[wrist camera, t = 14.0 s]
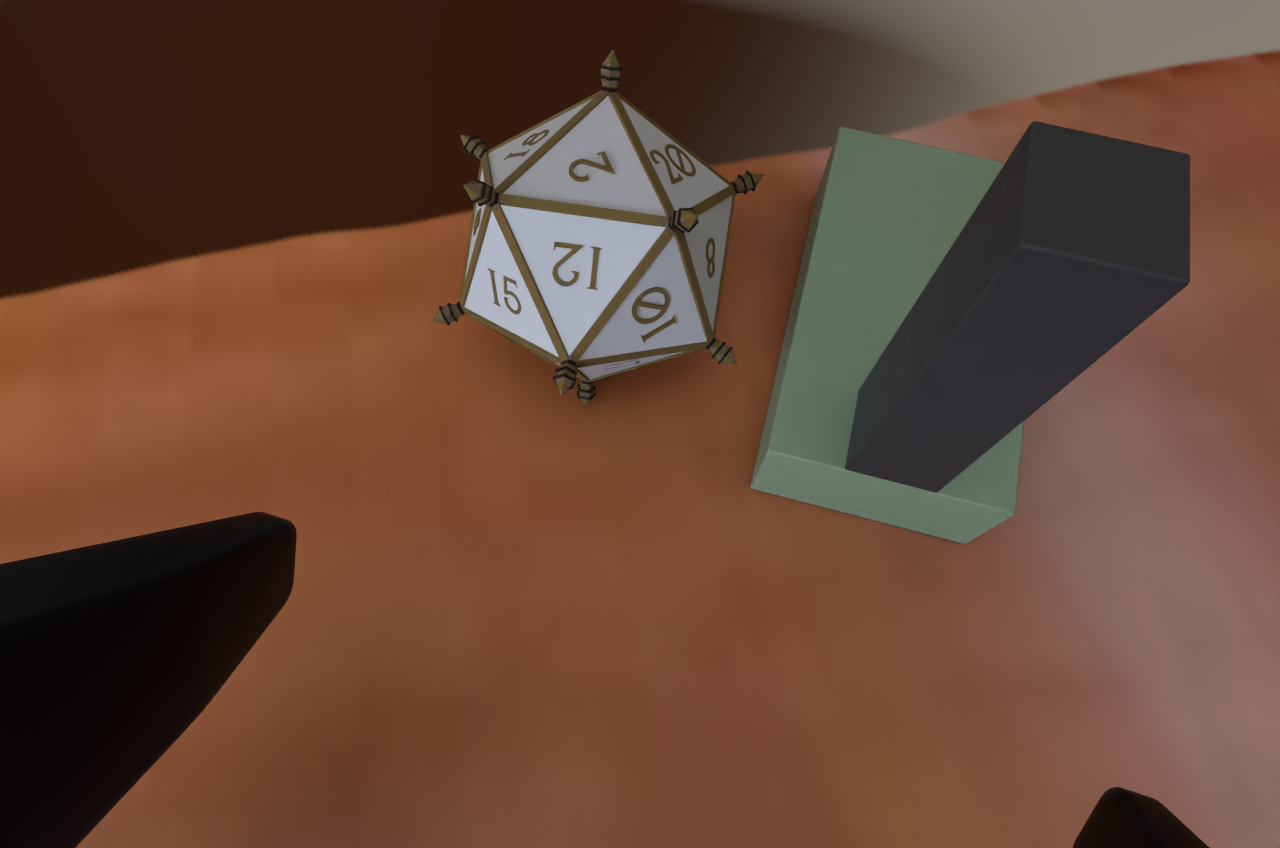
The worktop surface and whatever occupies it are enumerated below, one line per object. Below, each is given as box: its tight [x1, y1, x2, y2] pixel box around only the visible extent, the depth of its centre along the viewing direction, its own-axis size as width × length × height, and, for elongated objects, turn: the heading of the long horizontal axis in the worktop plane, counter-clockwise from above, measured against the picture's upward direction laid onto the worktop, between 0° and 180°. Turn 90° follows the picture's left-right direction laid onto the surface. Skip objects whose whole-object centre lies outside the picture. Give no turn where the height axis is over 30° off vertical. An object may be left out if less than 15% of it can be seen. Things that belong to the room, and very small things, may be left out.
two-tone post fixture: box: [750, 122, 1190, 544], centre depth 19 cm, size 11×6×13 cm, turn 165°
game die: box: [432, 50, 764, 406], centre depth 22 cm, size 9×8×10 cm
